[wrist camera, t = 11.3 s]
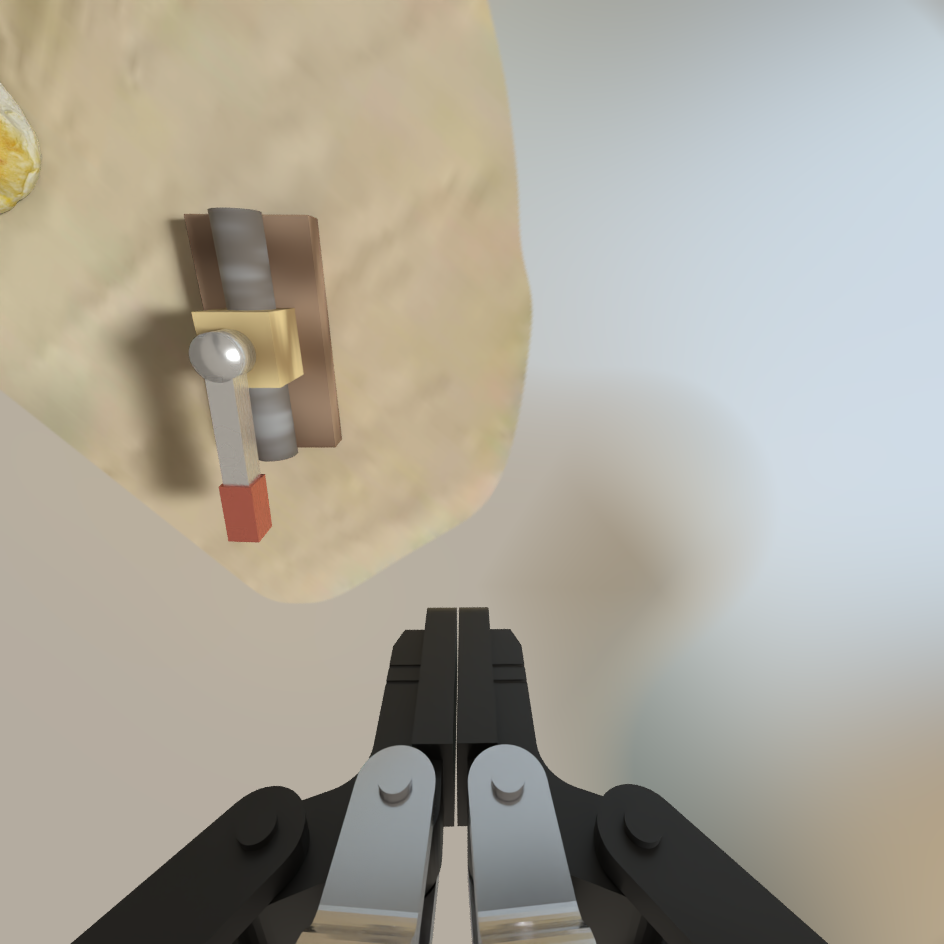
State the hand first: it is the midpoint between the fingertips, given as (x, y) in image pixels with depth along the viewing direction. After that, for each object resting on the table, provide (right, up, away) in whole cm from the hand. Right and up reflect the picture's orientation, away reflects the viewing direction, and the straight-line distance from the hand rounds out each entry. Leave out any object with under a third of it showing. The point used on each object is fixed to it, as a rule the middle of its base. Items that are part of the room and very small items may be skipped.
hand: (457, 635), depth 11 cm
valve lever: (-15, +6, +19) cm, 24 cm away
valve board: (-14, +14, +23) cm, 31 cm away
